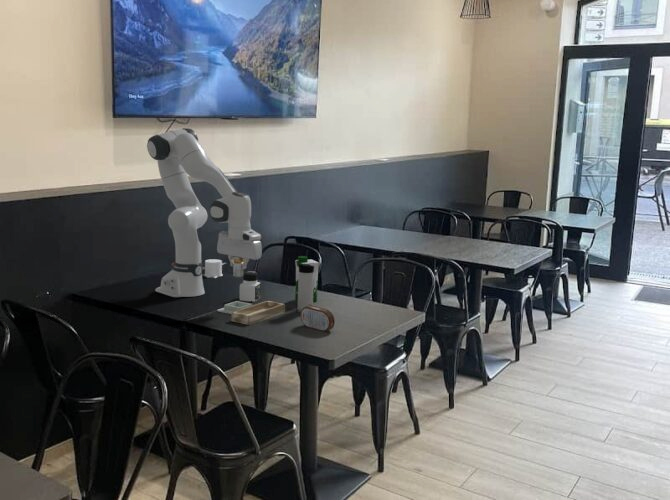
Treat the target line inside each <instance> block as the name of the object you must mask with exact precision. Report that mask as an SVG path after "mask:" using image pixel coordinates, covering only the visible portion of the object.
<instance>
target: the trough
mask: <svg viewBox="0 0 670 500" xmlns="http://www.w3.org/2000/svg"><path fill="white" fill-rule="evenodd" d="M284 313H286V304H285V303H281V302H278V301H277V302H276V301H271V300H265V301H261V302H259V303H256V304H252V306H249V307H246V308H243V309H240V310H237V311H234V312H231V314H230V315H231V316H230V318H231V322H235V323H239V324H243V325H248V326H251V325H255V324H257V323H260V322H262V321H263V322H264V321H265V320H267V319H268V320H269V319H271V318H274V317H276V316H277V317H278V316H279V315H281V314H284Z"/></svg>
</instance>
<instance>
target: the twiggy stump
mask: <svg viewBox="0 0 670 500" xmlns="http://www.w3.org/2000/svg"><path fill="white" fill-rule="evenodd" d="M225 264H228V263H227V262H223V260H221V259H215V258H213V259H211V258H210V259H206V260H204V274H203V276H204V277H206V279H208V278H214V279H217V278H218V277H223V275H224V274H223V272H222V271H223V265H225Z"/></svg>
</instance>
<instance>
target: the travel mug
mask: <svg viewBox="0 0 670 500" xmlns="http://www.w3.org/2000/svg"><path fill="white" fill-rule="evenodd" d="M313 288H314V266H311V265H309V264H299V276H298V301H297V312H298V313H301V310H302V309H303V308H304V307H306V306H308V305H313V306H314V302H313Z"/></svg>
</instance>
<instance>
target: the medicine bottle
mask: <svg viewBox="0 0 670 500" xmlns="http://www.w3.org/2000/svg"><path fill="white" fill-rule="evenodd" d="M260 298H261V282H259V281H258V273H257V272H256V271H245V272H243V277H242V283H240V284H239V301H240V302H251V301H252V303H253V302H254V303H255V302H257V301H258V300H259V299H260Z"/></svg>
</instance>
